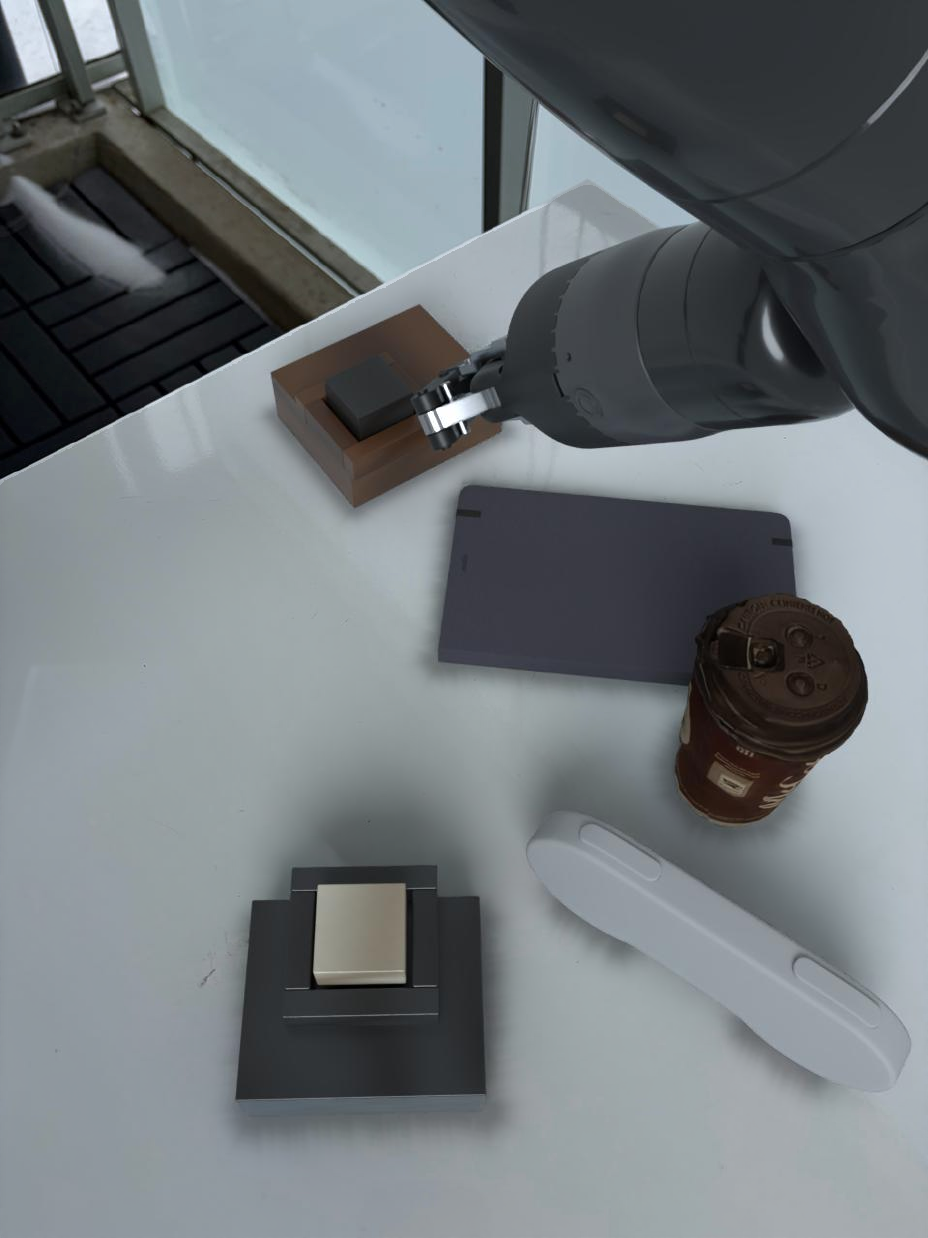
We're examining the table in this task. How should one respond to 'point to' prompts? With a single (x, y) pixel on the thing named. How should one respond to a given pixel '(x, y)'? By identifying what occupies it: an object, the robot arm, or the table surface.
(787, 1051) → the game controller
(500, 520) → the notebook
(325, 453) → the key block
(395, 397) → the ebony key
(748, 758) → the coffee cup
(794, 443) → the table surface
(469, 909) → the key block
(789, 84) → the robot arm
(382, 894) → the ivory key
